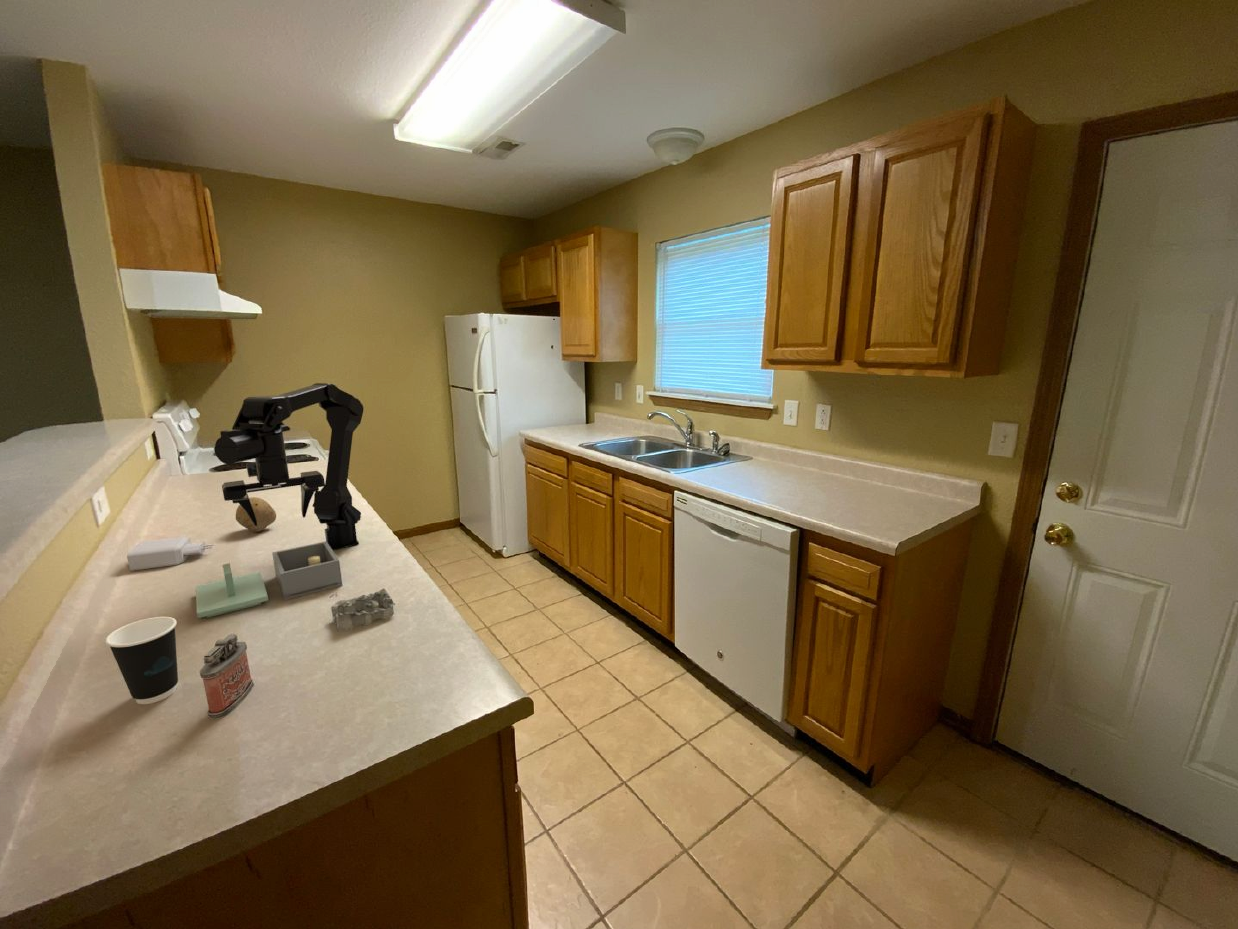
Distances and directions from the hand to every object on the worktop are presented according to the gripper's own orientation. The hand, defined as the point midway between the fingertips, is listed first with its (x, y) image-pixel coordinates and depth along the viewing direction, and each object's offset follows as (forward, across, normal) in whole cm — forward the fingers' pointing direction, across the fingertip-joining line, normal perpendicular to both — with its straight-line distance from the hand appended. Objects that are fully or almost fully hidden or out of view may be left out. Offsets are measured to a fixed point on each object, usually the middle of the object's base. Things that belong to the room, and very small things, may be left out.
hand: (280, 521), depth 118 cm
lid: (+13, +11, +7) cm, 18 cm away
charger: (+14, +20, -26) cm, 36 cm away
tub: (+13, -3, +7) cm, 15 cm away
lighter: (+13, +13, +45) cm, 49 cm away
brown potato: (+13, +3, -37) cm, 39 cm away
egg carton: (+14, -9, +31) cm, 35 cm away
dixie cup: (+13, +22, +36) cm, 44 cm away
